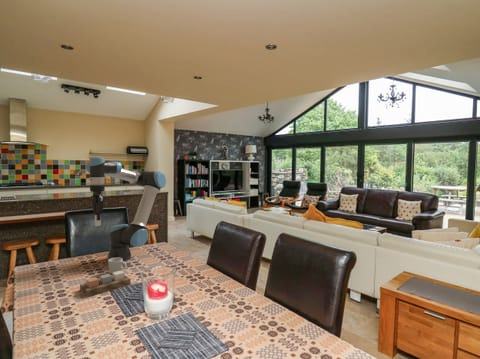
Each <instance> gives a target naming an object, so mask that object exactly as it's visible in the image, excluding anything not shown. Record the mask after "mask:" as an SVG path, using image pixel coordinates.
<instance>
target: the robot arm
mask: <svg viewBox="0 0 480 359" xmlns="http://www.w3.org/2000/svg"><path fill="white" fill-rule="evenodd" d="M85 171H86V172H87V173H88V174H89V178H88V181H89V192H90V193H91V192H92V195H91V196H90V198H91V205H92V206H91V207H92V213H93V214H94V226H95V227H99V226H102V223H101V222H102V214H103V212H104V211H103V210H104V201H105V197H103V192H105V190H106V188H105V184H106V182H105V179H106V177H110V178H113V179H118V180H122V181H125V182H128V183H129V184H132V185H135V186H139V187H143V189H144V191H143V193H142V196H141V199H140V202H139V205H138V208H137V210H136V213H135V216H134V217H133V218H134V219H133V221H132V222H130V223H129V224H127V223H124V224H123V223H122V224H116V225H112V226H111V227H110V228H109V251H108V253H107V258H106V259H107V260H106V261H108V260H109V259H111V258H116V257H119V258H122V259H123V260H122V261H124V262H126V261H128V260H130V259H131V258H132V252H131V250H130V247H142V246H143V245H145V244H146V243H147V241H148V240H149V231H148V227H147V224H148V220H149V217H150V214H151V211H152V208H153V205H154V202H155V199H156V197H157V194H158V193H160V191H161V189H164V187H165V186H166V184H167V178H166V175H165V174H164V172H162V171H157V170H156V171H154V170H153V171H151V170H150V171H148V170H142V171H141V170H139V171H138V170H135V169H133V170H129V169H126V168H123V166H122V163H121V162H120V161H116V160H110V161H109V160H105V158H104V157H100V156H99V157H95V156H93V157H90V158H89V161H88V162H87V163H86V165H85ZM105 176H106V177H105ZM129 246H130V247H129Z"/></svg>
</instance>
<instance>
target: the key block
mask: <svg viewBox="0 0 480 359" xmlns="http://www.w3.org/2000/svg"><path fill="white" fill-rule="evenodd" d="M98 279H99V286H96V287H92V288H88V287H87V286H86V282H85V283H80V284H79V291H80V292H82V294H83V295H85V297H87V298H89V297H93V296H96V295H100V294H103V293H106V292H110V291H113V290H116V289H120V288H123V287H126V286H130V285H131V280H132V279H131V278H130V277H128V276H127V275H125V274H124V279H121V280H117V281H115V280H113V279H112V282H110V283H107V284H103V285H102V284H101V283H100V278H98Z"/></svg>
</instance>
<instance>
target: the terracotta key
mask: <svg viewBox="0 0 480 359" xmlns="http://www.w3.org/2000/svg"><path fill="white" fill-rule="evenodd" d="M99 279H100V278H97V277H96V276H95V277H90V278H87V279H86V282H85V283H86V286H87V287H88V288H92V287H96V286H99Z"/></svg>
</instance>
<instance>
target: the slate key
mask: <svg viewBox="0 0 480 359" xmlns="http://www.w3.org/2000/svg"><path fill="white" fill-rule="evenodd" d="M99 279H100V283H101V284H102V285H103V284H107V283H110V282H112V274H111V273H106V274H102V275H99Z"/></svg>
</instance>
